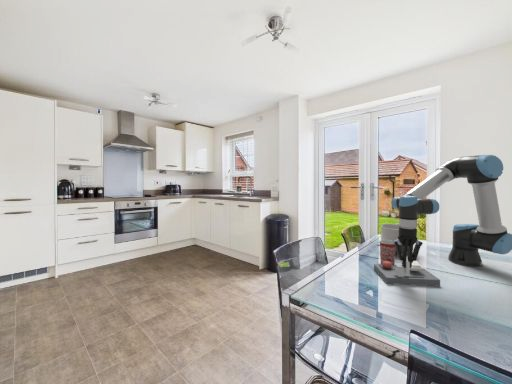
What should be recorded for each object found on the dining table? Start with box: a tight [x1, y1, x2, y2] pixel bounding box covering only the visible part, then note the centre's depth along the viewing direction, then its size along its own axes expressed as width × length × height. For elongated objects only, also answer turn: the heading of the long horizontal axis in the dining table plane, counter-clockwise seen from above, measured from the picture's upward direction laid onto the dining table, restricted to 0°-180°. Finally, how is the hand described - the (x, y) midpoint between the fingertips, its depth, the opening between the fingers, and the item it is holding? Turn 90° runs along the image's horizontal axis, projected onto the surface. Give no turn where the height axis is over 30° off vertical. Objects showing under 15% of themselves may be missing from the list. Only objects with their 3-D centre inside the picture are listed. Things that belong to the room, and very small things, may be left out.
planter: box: [380, 223, 408, 254], centre depth 161 cm, size 19×19×18 cm
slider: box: [395, 264, 404, 277], centre depth 116 cm, size 3×3×5 cm
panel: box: [373, 263, 441, 287], centre depth 122 cm, size 24×18×5 cm
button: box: [381, 261, 392, 268], centre depth 127 cm, size 4×4×2 cm
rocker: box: [407, 260, 425, 271], centre depth 124 cm, size 6×12×2 cm, turn 171°
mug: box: [379, 239, 396, 265], centre depth 142 cm, size 13×9×14 cm
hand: (406, 273), depth 115 cm, fingers closed
